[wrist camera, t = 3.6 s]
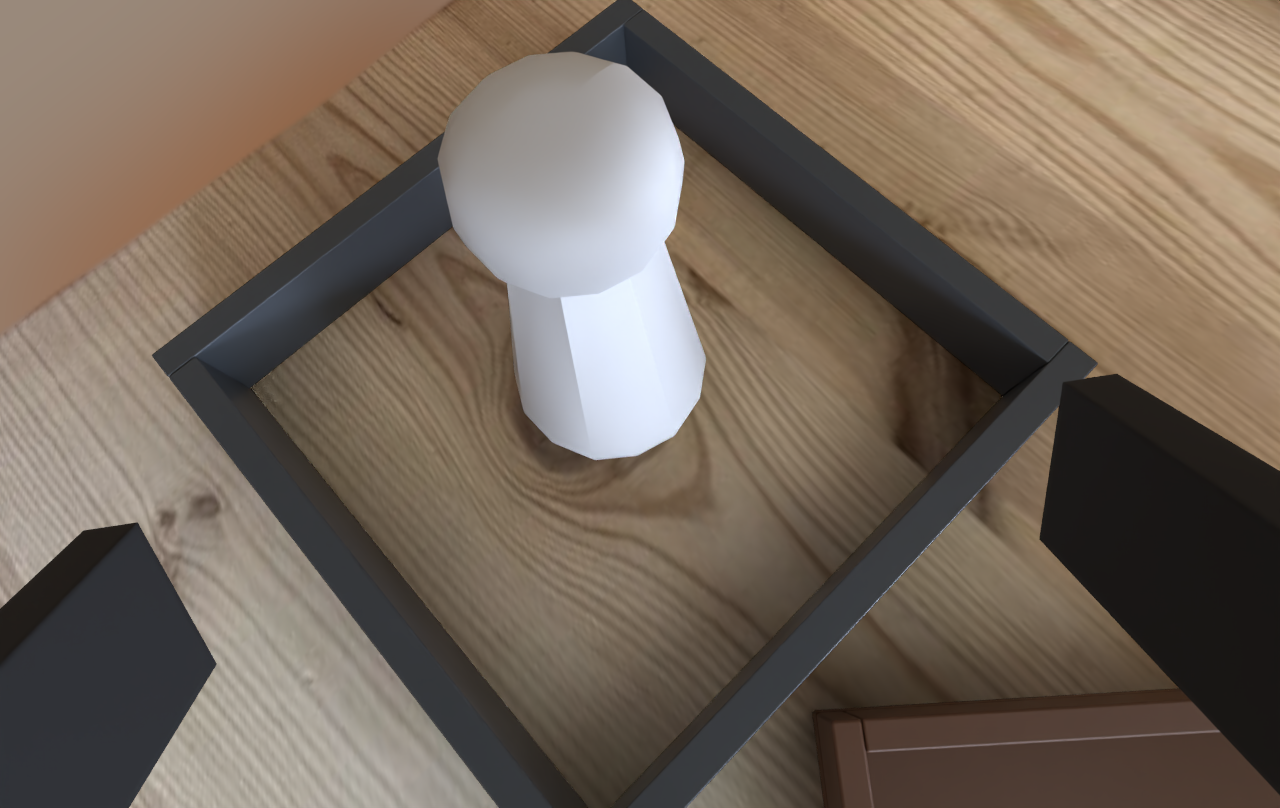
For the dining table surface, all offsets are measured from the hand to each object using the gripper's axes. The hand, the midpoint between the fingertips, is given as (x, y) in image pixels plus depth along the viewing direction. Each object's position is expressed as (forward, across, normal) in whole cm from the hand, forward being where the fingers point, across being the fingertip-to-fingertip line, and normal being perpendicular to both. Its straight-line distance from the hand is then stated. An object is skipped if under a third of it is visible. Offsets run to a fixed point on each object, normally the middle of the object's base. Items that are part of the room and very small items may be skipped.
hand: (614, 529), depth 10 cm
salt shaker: (+13, 0, -4) cm, 14 cm away
